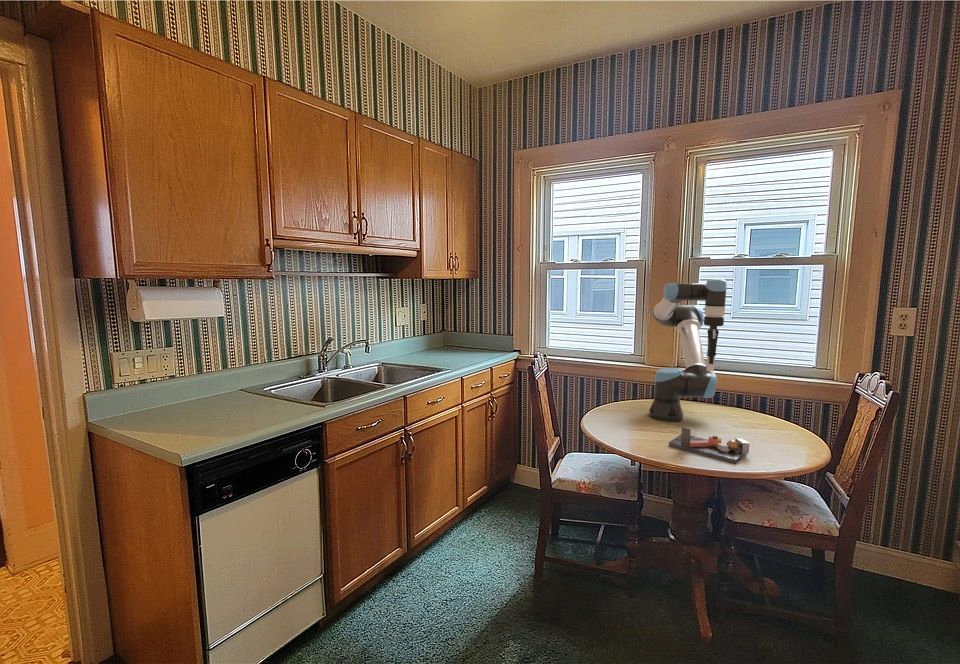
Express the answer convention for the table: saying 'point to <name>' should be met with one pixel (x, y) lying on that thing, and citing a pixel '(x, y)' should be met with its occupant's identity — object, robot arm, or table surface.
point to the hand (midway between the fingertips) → (710, 370)
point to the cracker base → (716, 449)
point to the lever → (712, 441)
